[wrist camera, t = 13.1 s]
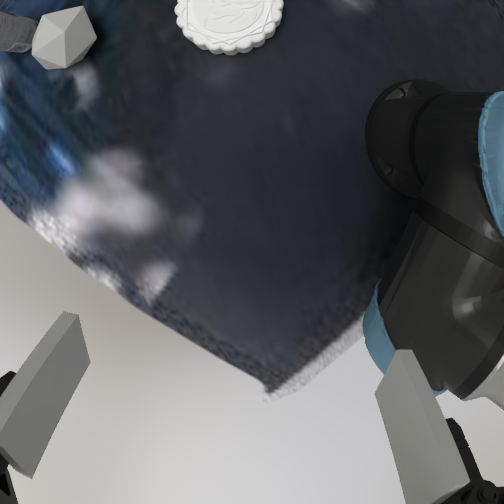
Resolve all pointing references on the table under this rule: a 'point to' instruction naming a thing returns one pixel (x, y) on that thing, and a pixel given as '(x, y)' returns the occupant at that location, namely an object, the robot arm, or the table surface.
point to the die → (63, 38)
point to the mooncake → (228, 23)
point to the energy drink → (16, 32)
